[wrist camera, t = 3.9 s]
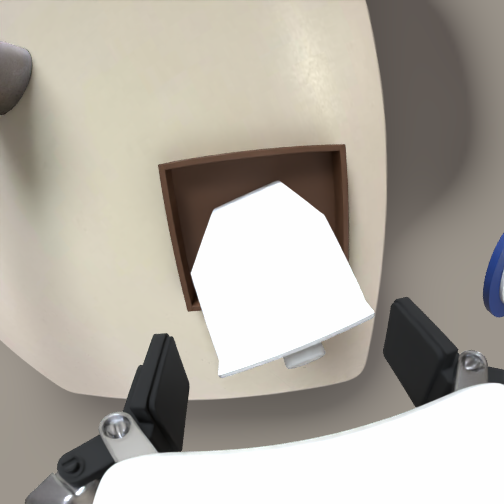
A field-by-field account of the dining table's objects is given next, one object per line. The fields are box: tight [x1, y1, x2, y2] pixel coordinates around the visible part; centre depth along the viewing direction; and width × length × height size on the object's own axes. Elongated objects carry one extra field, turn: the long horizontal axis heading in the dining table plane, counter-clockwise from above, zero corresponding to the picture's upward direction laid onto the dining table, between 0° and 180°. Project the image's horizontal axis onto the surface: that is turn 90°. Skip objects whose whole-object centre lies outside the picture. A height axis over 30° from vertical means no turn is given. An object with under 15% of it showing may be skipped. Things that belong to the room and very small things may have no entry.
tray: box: [158, 144, 349, 312], centre depth 28 cm, size 17×15×3 cm
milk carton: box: [191, 181, 375, 378], centre depth 20 cm, size 7×7×19 cm
